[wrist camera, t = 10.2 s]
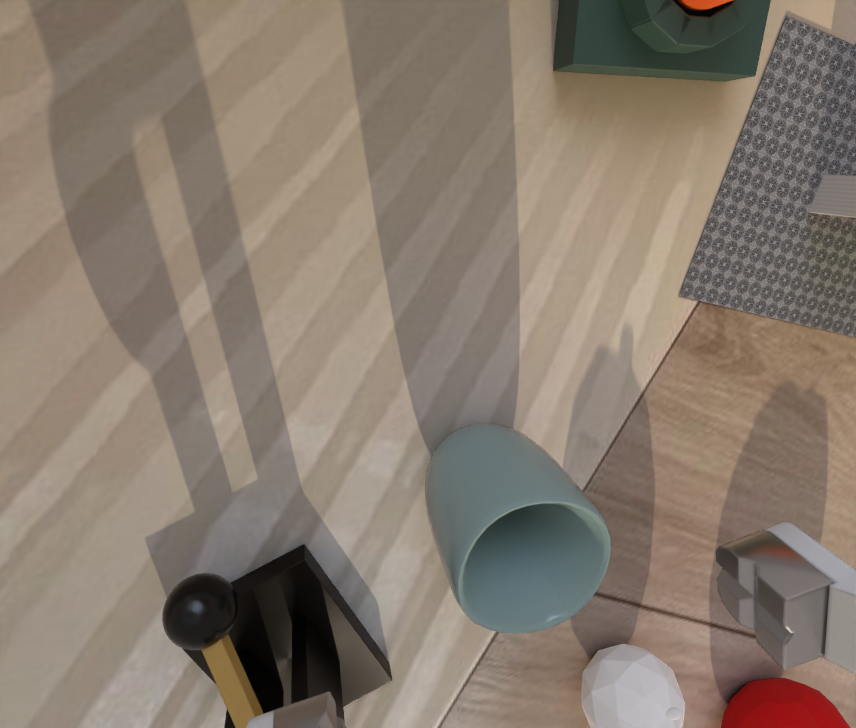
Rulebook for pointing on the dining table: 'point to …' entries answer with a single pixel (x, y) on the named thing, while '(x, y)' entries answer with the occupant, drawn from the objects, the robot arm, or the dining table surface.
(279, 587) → the lever base
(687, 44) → the dimmer block
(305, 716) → the robot arm
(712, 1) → the button
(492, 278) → the dining table surface
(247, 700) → the lever with ball knob
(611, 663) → the ornament
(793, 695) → the tomato
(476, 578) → the cup
